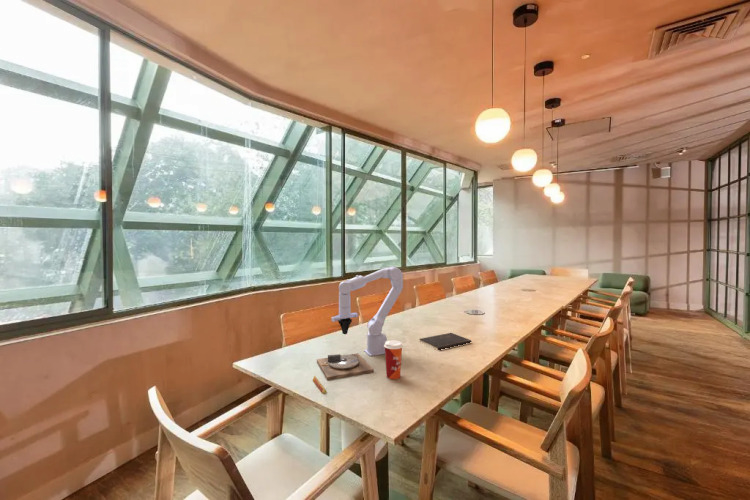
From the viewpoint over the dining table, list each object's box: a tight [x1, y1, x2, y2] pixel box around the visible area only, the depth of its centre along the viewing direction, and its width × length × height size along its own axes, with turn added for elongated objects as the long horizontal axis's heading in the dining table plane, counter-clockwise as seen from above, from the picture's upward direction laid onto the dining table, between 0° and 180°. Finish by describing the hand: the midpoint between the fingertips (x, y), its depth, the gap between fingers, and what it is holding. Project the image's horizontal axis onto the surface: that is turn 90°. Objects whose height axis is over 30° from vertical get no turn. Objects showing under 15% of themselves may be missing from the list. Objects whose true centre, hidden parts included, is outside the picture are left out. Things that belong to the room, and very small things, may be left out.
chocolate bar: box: [312, 375, 328, 395], centre depth 122 cm, size 3×12×2 cm, turn 28°
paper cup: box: [384, 339, 404, 380], centre depth 130 cm, size 8×8×14 cm
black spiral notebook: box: [419, 332, 472, 351], centre depth 172 cm, size 16×23×2 cm
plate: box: [316, 353, 374, 381], centre depth 140 cm, size 20×20×1 cm
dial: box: [327, 354, 359, 370], centre depth 140 cm, size 13×14×4 cm
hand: (344, 333), depth 155 cm, fingers closed
